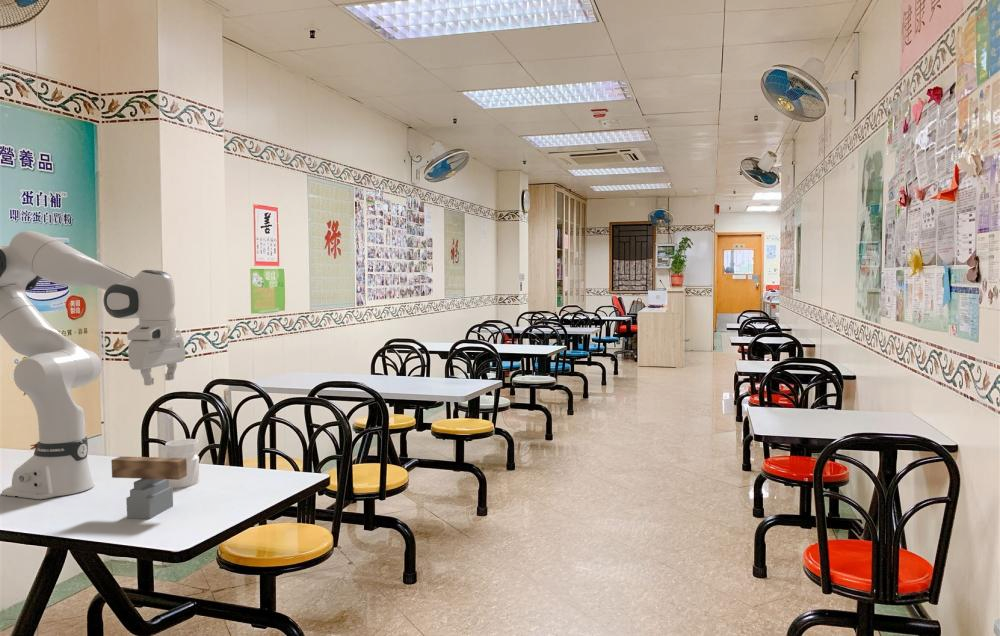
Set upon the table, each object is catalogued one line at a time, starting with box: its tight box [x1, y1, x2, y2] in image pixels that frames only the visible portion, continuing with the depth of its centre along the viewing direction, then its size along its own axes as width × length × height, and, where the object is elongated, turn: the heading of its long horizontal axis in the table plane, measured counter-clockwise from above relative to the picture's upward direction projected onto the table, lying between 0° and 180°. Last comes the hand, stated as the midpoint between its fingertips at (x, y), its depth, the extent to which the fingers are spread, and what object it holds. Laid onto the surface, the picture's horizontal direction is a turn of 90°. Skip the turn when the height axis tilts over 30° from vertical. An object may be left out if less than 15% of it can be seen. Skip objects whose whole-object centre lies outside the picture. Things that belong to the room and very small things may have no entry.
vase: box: [164, 438, 201, 488], centre depth 206 cm, size 9×9×12 cm
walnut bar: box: [110, 456, 187, 480], centre depth 180 cm, size 18×4×4 cm, turn 83°
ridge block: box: [125, 478, 174, 520], centre depth 180 cm, size 6×10×9 cm, turn 173°
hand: (159, 382), depth 191 cm, fingers open, 8 cm apart
